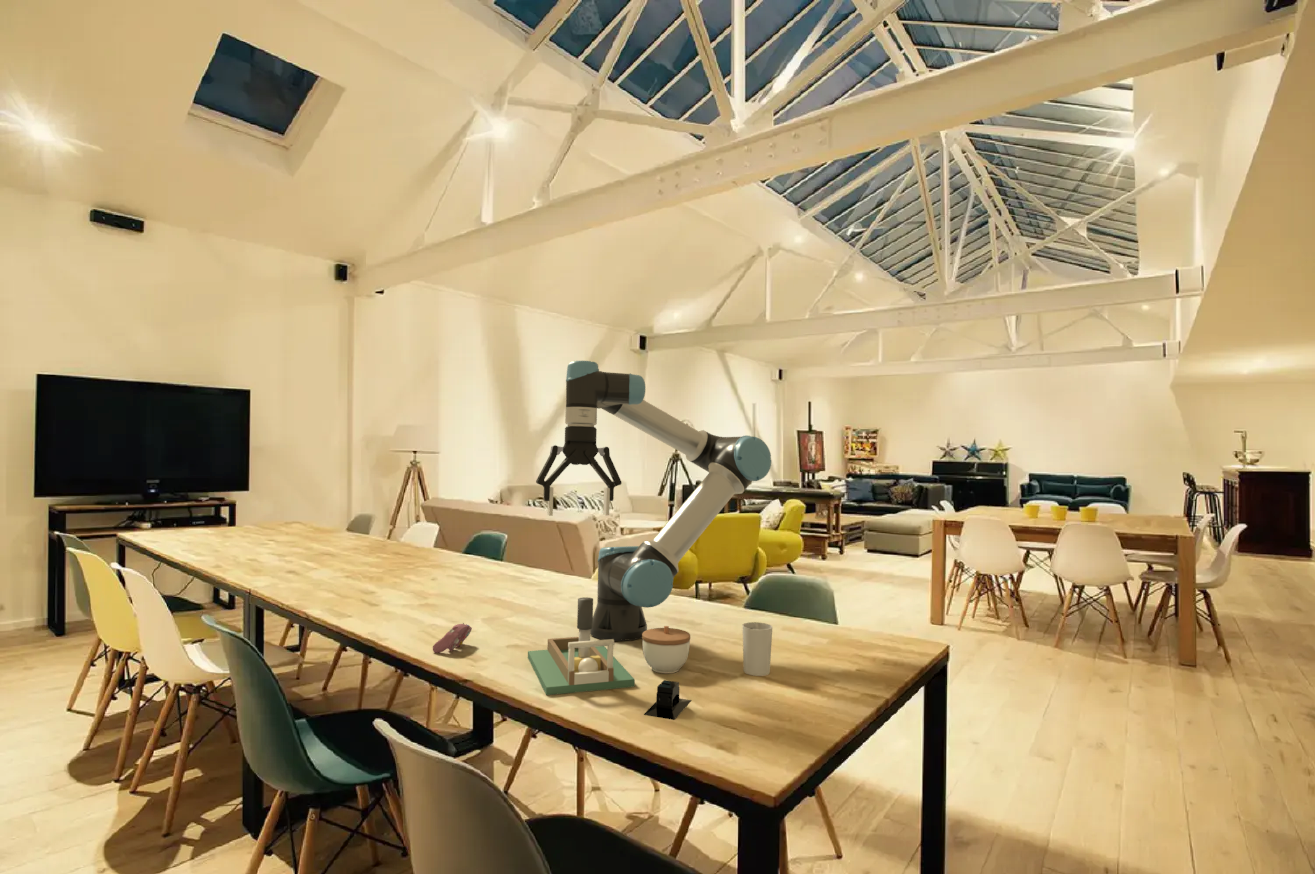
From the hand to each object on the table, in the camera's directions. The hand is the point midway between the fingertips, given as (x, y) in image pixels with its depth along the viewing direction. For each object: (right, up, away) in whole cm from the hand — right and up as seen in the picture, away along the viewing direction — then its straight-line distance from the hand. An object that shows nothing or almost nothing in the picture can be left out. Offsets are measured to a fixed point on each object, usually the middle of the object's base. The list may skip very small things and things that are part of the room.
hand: (578, 515), depth 156 cm
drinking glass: (+41, -34, -11) cm, 54 cm away
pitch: (+1, -32, -14) cm, 35 cm away
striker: (+4, -30, -19) cm, 36 cm away
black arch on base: (+21, -33, -33) cm, 51 cm away
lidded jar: (+21, -33, -11) cm, 40 cm away
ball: (+5, -29, -22) cm, 36 cm away
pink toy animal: (-30, -32, +1) cm, 44 cm away
